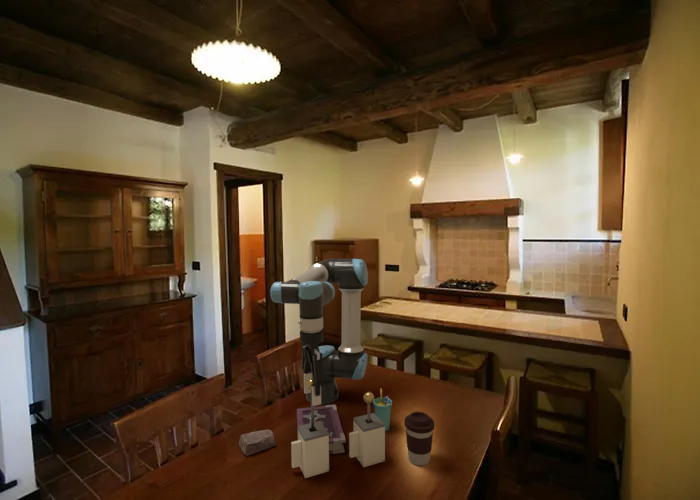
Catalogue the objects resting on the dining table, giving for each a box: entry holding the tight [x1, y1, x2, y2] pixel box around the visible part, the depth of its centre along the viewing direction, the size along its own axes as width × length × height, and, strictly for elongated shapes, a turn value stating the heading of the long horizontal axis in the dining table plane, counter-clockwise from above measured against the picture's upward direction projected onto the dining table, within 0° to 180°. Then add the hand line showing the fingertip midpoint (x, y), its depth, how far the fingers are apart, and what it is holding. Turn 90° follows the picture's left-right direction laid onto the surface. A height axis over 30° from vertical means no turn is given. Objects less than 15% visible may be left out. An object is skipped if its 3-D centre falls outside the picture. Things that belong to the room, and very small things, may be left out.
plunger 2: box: [363, 391, 375, 424], centre depth 121 cm, size 5×5×21 cm
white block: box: [348, 412, 386, 468], centre depth 121 cm, size 8×11×13 cm
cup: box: [372, 388, 393, 432], centre depth 139 cm, size 14×8×15 cm, turn 15°
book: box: [296, 404, 347, 455], centre depth 136 cm, size 25×16×5 cm, turn 10°
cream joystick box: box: [290, 421, 330, 479], centre depth 116 cm, size 8×11×13 cm
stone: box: [238, 429, 277, 456], centre depth 129 cm, size 12×9×5 cm
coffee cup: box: [403, 411, 435, 466], centre depth 120 cm, size 10×10×15 cm
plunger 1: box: [307, 378, 315, 432], centre depth 116 cm, size 5×5×21 cm
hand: (312, 398), depth 116 cm, fingers open, 8 cm apart
